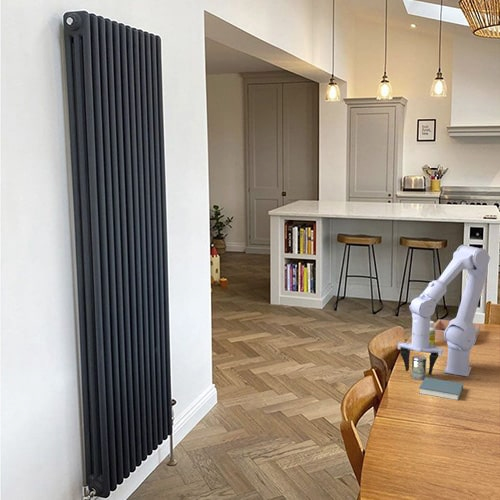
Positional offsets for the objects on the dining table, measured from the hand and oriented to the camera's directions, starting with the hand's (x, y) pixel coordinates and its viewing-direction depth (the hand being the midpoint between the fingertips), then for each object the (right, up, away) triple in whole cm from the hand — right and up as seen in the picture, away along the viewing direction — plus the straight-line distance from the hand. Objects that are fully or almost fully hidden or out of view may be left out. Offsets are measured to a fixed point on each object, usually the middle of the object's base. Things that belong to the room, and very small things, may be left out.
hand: (418, 372), depth 211 cm
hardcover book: (+4, -4, -12) cm, 13 cm away
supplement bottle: (+13, +4, +35) cm, 37 cm away
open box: (+28, +6, +46) cm, 54 cm away
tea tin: (0, -2, 0) cm, 2 cm away
